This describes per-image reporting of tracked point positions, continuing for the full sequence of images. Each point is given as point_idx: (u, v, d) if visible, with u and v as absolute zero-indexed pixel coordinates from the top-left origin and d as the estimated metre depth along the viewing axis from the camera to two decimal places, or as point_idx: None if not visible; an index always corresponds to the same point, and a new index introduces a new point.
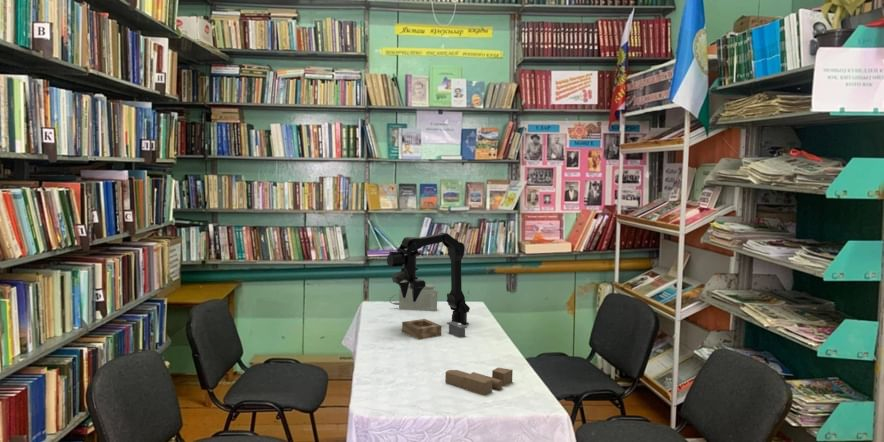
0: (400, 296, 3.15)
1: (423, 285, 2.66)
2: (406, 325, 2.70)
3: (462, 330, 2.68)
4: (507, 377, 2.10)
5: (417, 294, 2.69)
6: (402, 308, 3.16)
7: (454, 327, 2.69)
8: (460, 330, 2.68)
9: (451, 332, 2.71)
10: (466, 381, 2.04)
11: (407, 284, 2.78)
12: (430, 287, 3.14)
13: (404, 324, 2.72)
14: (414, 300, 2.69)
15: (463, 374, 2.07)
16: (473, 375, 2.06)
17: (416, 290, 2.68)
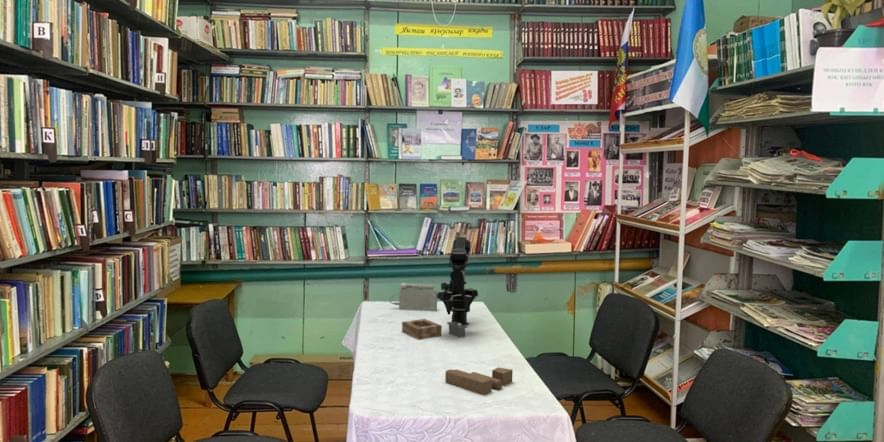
0: (400, 296, 3.15)
1: (442, 298, 2.63)
2: (406, 325, 2.70)
3: (462, 330, 2.68)
4: (507, 377, 2.10)
5: (447, 307, 2.66)
6: (402, 308, 3.16)
7: (454, 327, 2.69)
8: (460, 330, 2.68)
9: (451, 332, 2.71)
10: (466, 381, 2.04)
11: (469, 299, 2.71)
12: (430, 287, 3.14)
13: (404, 324, 2.72)
14: None
15: (462, 374, 2.08)
16: (473, 375, 2.06)
17: (447, 303, 2.66)
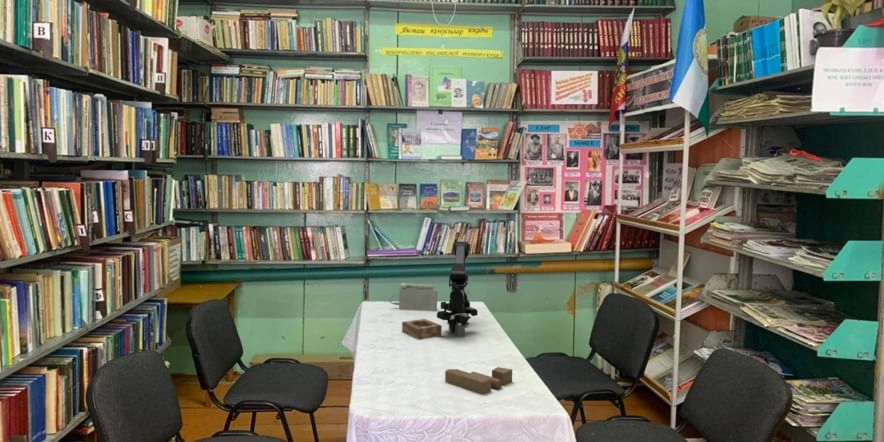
0: (400, 296, 3.15)
1: (441, 318, 2.64)
2: (406, 325, 2.70)
3: (462, 330, 2.68)
4: (507, 377, 2.10)
5: (452, 326, 2.68)
6: (402, 308, 3.16)
7: None
8: (460, 330, 2.68)
9: (451, 332, 2.71)
10: (465, 380, 2.05)
11: (464, 319, 2.70)
12: (430, 287, 3.14)
13: (404, 324, 2.72)
14: (452, 331, 2.70)
15: (462, 373, 2.08)
16: (472, 374, 2.06)
17: (451, 321, 2.68)
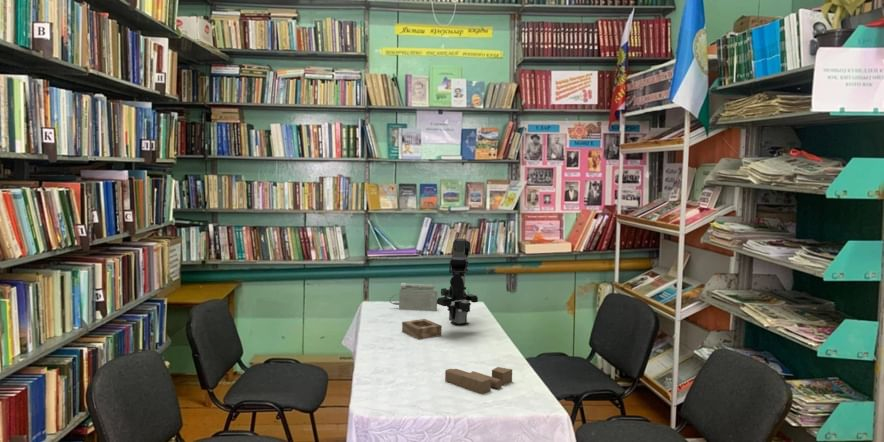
0: (400, 296, 3.15)
1: (442, 304, 2.63)
2: (406, 325, 2.70)
3: (462, 316, 2.67)
4: (506, 377, 2.10)
5: (452, 312, 2.67)
6: (402, 308, 3.16)
7: None
8: (460, 316, 2.67)
9: (451, 318, 2.70)
10: (465, 380, 2.05)
11: (464, 306, 2.70)
12: (430, 287, 3.14)
13: (404, 324, 2.72)
14: (452, 318, 2.69)
15: (462, 373, 2.08)
16: (472, 374, 2.07)
17: (451, 308, 2.68)
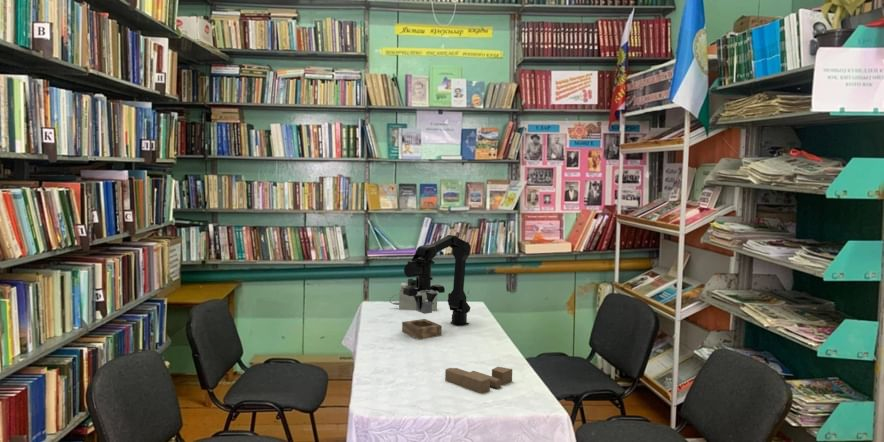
0: (400, 296, 3.15)
1: (408, 294, 2.63)
2: (406, 325, 2.70)
3: (429, 306, 2.67)
4: (506, 376, 2.11)
5: (418, 302, 2.67)
6: (402, 308, 3.16)
7: None
8: (427, 306, 2.67)
9: (418, 309, 2.70)
10: (464, 379, 2.06)
11: (431, 296, 2.70)
12: None
13: (404, 324, 2.72)
14: (418, 308, 2.69)
15: (462, 372, 2.09)
16: (472, 373, 2.07)
17: (417, 298, 2.68)
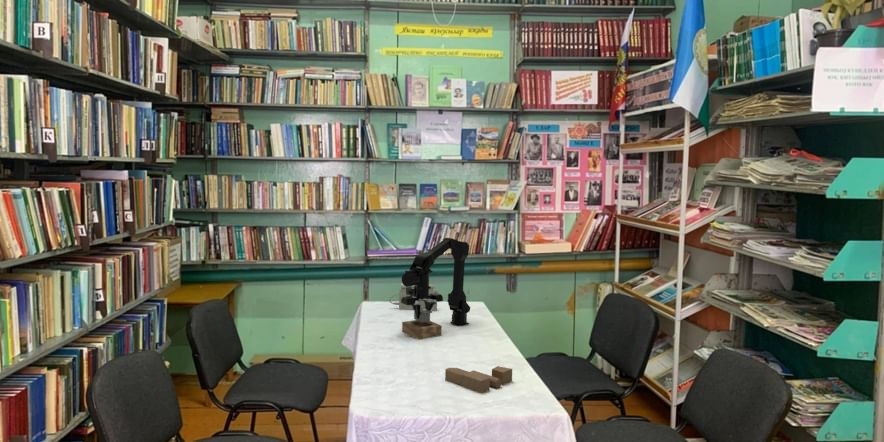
0: (400, 296, 3.15)
1: (406, 303, 2.63)
2: (406, 325, 2.70)
3: (427, 315, 2.68)
4: (506, 376, 2.11)
5: (416, 311, 2.68)
6: (402, 308, 3.16)
7: None
8: (425, 315, 2.67)
9: (416, 317, 2.71)
10: (464, 379, 2.06)
11: (429, 305, 2.70)
12: None
13: (404, 324, 2.72)
14: None
15: (462, 372, 2.09)
16: (471, 373, 2.08)
17: (416, 307, 2.68)
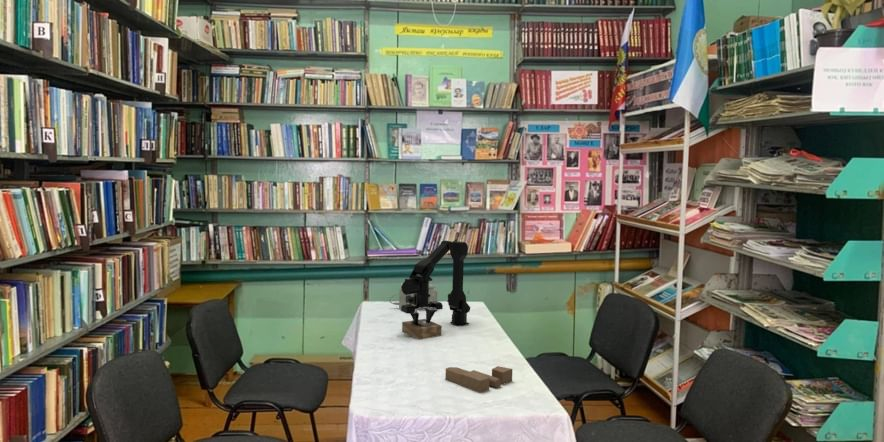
0: (400, 296, 3.15)
1: (405, 311, 2.64)
2: (406, 325, 2.70)
3: None
4: (506, 376, 2.11)
5: (415, 320, 2.68)
6: None
7: (419, 325, 2.69)
8: None
9: None
10: (464, 378, 2.07)
11: (430, 313, 2.71)
12: (430, 287, 3.14)
13: (404, 324, 2.72)
14: None
15: (462, 371, 2.10)
16: (471, 373, 2.08)
17: (414, 315, 2.68)
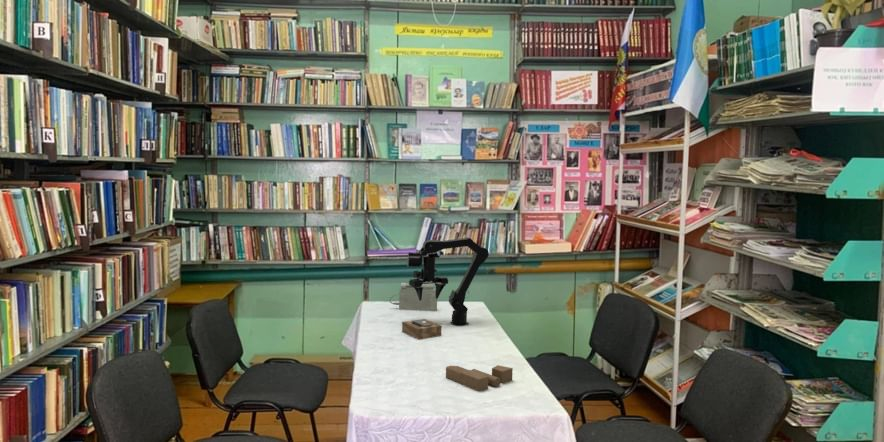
0: (400, 296, 3.15)
1: (413, 285, 2.79)
2: (406, 325, 2.70)
3: None
4: (506, 375, 2.12)
5: (419, 294, 2.82)
6: (402, 308, 3.16)
7: (419, 325, 2.69)
8: None
9: None
10: (463, 377, 2.08)
11: (439, 286, 2.87)
12: (430, 287, 3.14)
13: (404, 324, 2.72)
14: (419, 299, 2.84)
15: (461, 370, 2.11)
16: (471, 371, 2.10)
17: (418, 289, 2.82)
